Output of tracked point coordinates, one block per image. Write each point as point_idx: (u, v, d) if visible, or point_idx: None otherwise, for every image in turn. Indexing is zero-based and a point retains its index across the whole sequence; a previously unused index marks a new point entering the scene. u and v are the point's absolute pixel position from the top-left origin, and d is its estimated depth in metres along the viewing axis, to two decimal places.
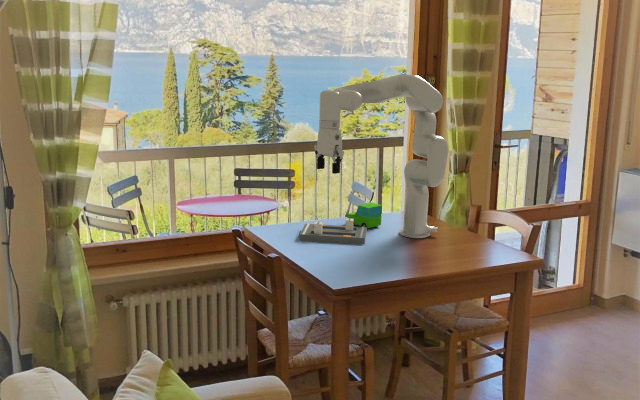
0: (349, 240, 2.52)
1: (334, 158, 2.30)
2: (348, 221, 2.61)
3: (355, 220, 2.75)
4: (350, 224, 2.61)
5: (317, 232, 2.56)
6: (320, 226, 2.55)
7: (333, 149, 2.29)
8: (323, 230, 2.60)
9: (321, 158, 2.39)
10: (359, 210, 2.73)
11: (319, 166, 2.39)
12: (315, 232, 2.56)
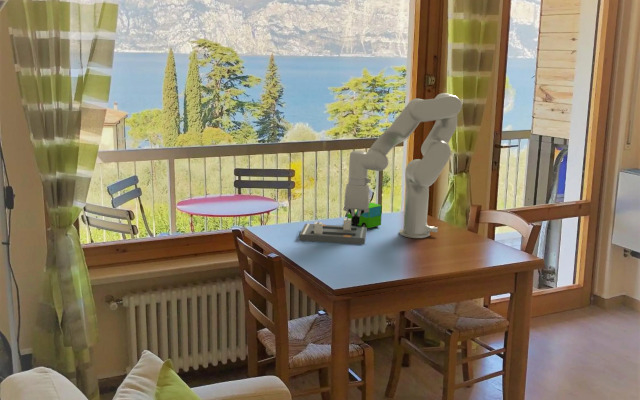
0: (349, 240, 2.52)
1: (360, 213, 2.60)
2: (346, 221, 2.61)
3: None
4: (347, 224, 2.62)
5: (317, 232, 2.56)
6: (320, 226, 2.55)
7: (368, 202, 2.58)
8: (323, 230, 2.60)
9: None
10: None
11: (355, 223, 2.62)
12: (315, 232, 2.56)
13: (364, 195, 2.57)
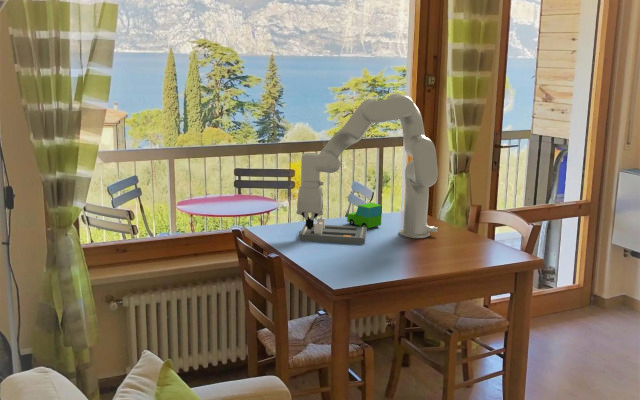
0: (349, 240, 2.52)
1: (314, 216, 2.54)
2: (319, 219, 2.63)
3: (355, 220, 2.75)
4: None
5: (317, 232, 2.56)
6: (320, 226, 2.55)
7: (321, 205, 2.53)
8: (323, 230, 2.60)
9: None
10: (359, 210, 2.73)
11: None
12: (315, 232, 2.56)
13: (317, 198, 2.51)
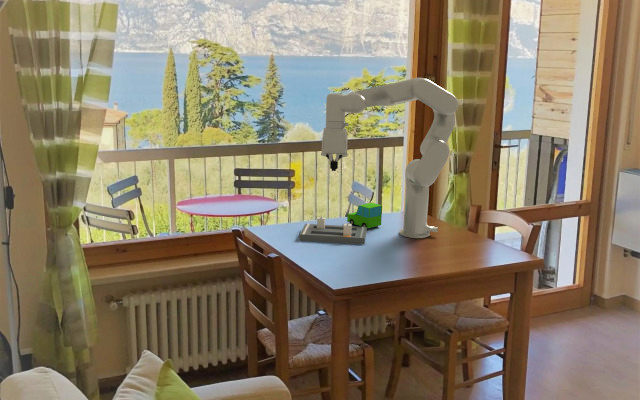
0: (349, 240, 2.52)
1: (338, 158, 2.54)
2: (319, 219, 2.63)
3: (355, 220, 2.75)
4: (321, 223, 2.63)
5: (347, 233, 2.54)
6: (349, 228, 2.54)
7: (346, 146, 2.52)
8: (323, 230, 2.60)
9: None
10: (359, 210, 2.73)
11: (333, 168, 2.55)
12: (344, 234, 2.54)
13: (342, 139, 2.51)
